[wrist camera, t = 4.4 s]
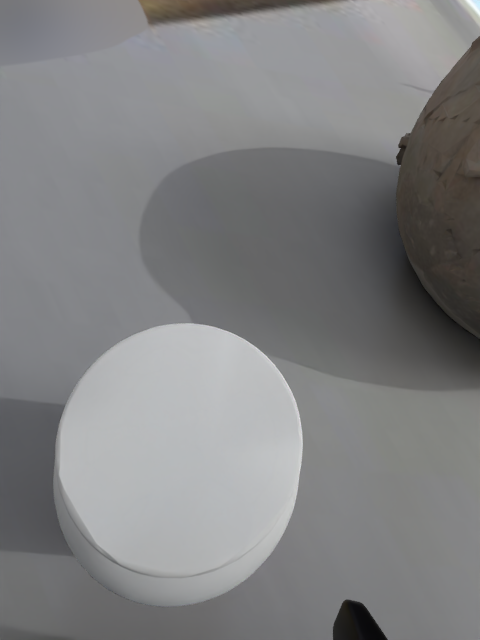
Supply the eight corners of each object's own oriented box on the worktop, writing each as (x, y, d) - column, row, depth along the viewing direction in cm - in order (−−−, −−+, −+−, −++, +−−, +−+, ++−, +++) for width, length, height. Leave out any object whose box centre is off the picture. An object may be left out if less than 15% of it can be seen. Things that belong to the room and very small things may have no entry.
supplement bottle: (125, 588, 15) (-18, 772, 4) (102, 439, 18) (-21, 317, 7) (265, 531, 17) (416, 557, 6) (225, 403, 20) (279, 262, 9)
